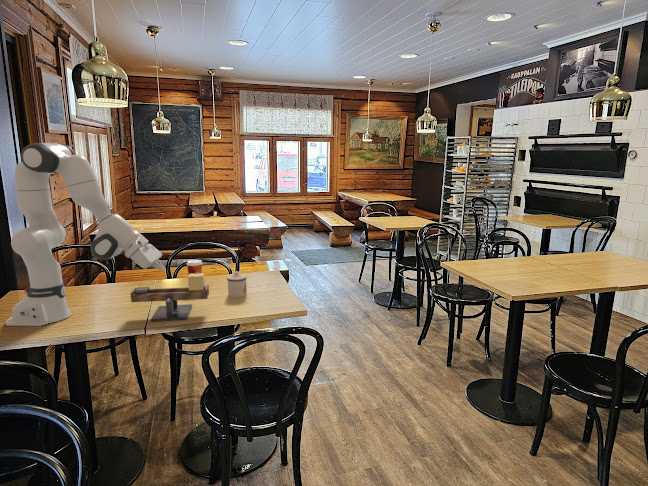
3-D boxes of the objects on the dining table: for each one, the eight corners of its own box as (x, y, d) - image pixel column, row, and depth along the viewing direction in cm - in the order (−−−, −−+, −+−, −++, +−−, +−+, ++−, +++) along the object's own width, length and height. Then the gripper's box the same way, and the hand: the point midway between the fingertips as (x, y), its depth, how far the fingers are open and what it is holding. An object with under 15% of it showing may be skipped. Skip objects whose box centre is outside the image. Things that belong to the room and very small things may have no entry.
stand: (151, 321, 169) (149, 300, 168) (159, 308, 184) (157, 289, 182) (187, 319, 172) (185, 298, 170) (192, 306, 186) (191, 287, 184)
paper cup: (199, 290, 208) (197, 263, 205) (185, 289, 209) (183, 262, 206) (206, 286, 215) (205, 259, 212) (193, 285, 217) (191, 259, 214)
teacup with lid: (248, 297, 199) (247, 273, 196) (228, 299, 196) (227, 275, 194) (245, 289, 210) (244, 267, 208) (226, 291, 207) (225, 268, 205)
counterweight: (136, 297, 172) (135, 290, 171) (138, 293, 176) (138, 287, 175) (147, 296, 172) (146, 289, 172) (149, 293, 177) (149, 286, 176)
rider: (189, 295, 175) (187, 276, 173) (190, 291, 179) (189, 273, 178) (203, 294, 176) (202, 276, 174) (205, 291, 180) (204, 273, 179)
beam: (131, 304, 171) (130, 293, 170) (136, 299, 177) (135, 287, 176) (207, 301, 175) (206, 289, 174) (209, 295, 182) (208, 284, 181)
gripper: (139, 247, 179) (163, 269, 182) (123, 255, 159) (151, 280, 162) (149, 237, 179) (174, 259, 182) (135, 244, 159) (162, 269, 162)
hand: (163, 269), depth 172 cm, fingers closed
